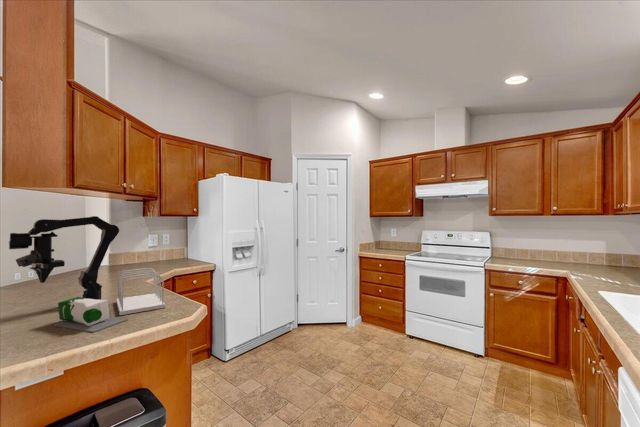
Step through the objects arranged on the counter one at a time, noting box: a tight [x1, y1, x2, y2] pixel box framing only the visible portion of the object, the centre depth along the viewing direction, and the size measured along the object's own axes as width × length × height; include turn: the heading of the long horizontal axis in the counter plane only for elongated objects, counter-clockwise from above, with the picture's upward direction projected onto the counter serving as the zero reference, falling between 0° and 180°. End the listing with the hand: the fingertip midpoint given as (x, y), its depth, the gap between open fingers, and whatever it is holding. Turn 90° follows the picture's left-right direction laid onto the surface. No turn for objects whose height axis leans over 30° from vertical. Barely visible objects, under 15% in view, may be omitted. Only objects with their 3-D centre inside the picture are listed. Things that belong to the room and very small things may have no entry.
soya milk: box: [57, 296, 110, 326], centre depth 115 cm, size 9×9×20 cm
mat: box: [53, 315, 129, 334], centre depth 114 cm, size 13×22×1 cm, turn 72°
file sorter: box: [115, 267, 166, 316], centre depth 137 cm, size 25×17×16 cm
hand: (42, 282), depth 128 cm, fingers closed
